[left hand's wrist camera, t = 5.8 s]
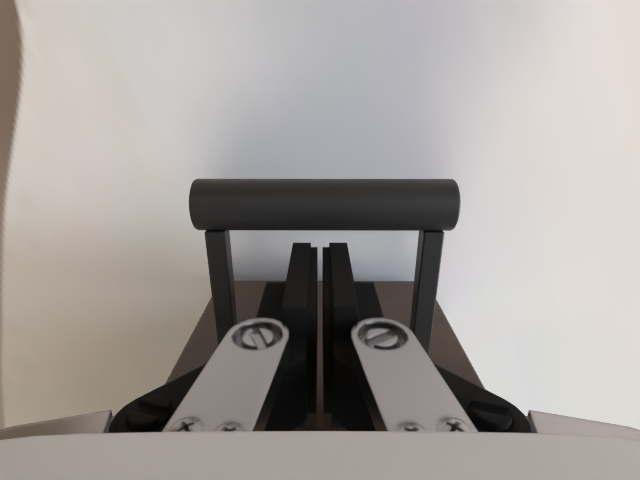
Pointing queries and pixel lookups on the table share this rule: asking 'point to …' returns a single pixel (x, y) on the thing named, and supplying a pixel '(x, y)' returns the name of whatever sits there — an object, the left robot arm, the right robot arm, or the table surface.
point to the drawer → (322, 214)
